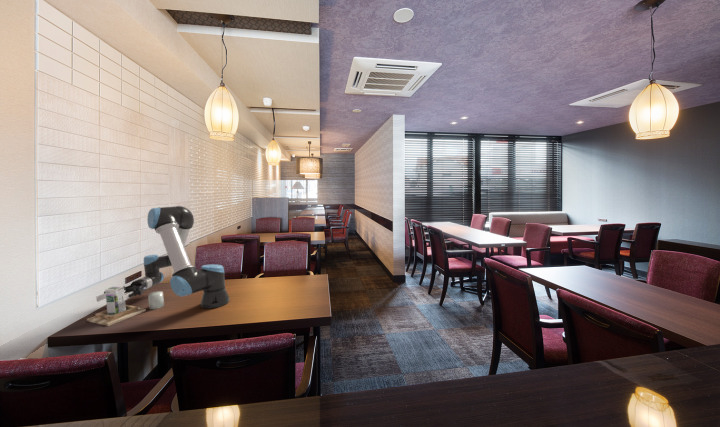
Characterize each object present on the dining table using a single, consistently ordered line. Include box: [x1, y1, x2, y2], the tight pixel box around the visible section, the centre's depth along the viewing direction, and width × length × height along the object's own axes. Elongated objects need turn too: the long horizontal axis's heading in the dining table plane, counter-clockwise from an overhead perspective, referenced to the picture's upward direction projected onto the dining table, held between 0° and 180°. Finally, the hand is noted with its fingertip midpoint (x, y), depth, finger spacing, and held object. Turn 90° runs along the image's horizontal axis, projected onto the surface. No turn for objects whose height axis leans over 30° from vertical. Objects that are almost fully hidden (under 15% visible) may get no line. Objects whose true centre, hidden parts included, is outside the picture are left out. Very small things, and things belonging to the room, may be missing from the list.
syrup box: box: [104, 285, 127, 315], centre depth 152 cm, size 6×6×14 cm
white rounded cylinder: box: [147, 290, 165, 310], centre depth 164 cm, size 7×7×8 cm
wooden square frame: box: [86, 304, 147, 327], centre depth 153 cm, size 18×18×3 cm
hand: (109, 298), depth 149 cm, fingers open, 13 cm apart
